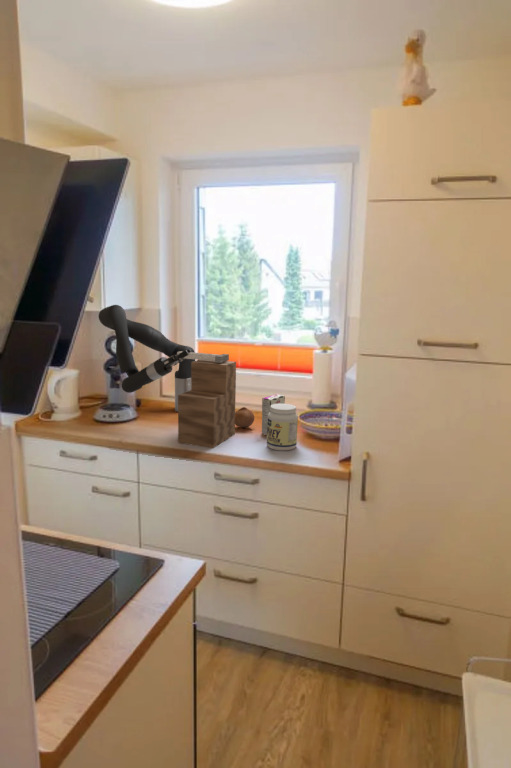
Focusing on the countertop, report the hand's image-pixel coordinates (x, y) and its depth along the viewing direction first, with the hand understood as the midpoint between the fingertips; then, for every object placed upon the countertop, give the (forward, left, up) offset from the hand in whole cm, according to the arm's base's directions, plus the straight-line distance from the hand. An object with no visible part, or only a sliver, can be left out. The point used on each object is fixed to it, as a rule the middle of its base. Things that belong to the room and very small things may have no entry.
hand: (188, 351), depth 217 cm
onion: (-15, +20, -36) cm, 43 cm away
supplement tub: (+2, +44, -36) cm, 57 cm away
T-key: (0, +6, -3) cm, 7 cm away
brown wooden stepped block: (+5, +12, -35) cm, 38 cm away
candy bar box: (-15, +34, -36) cm, 51 cm away
